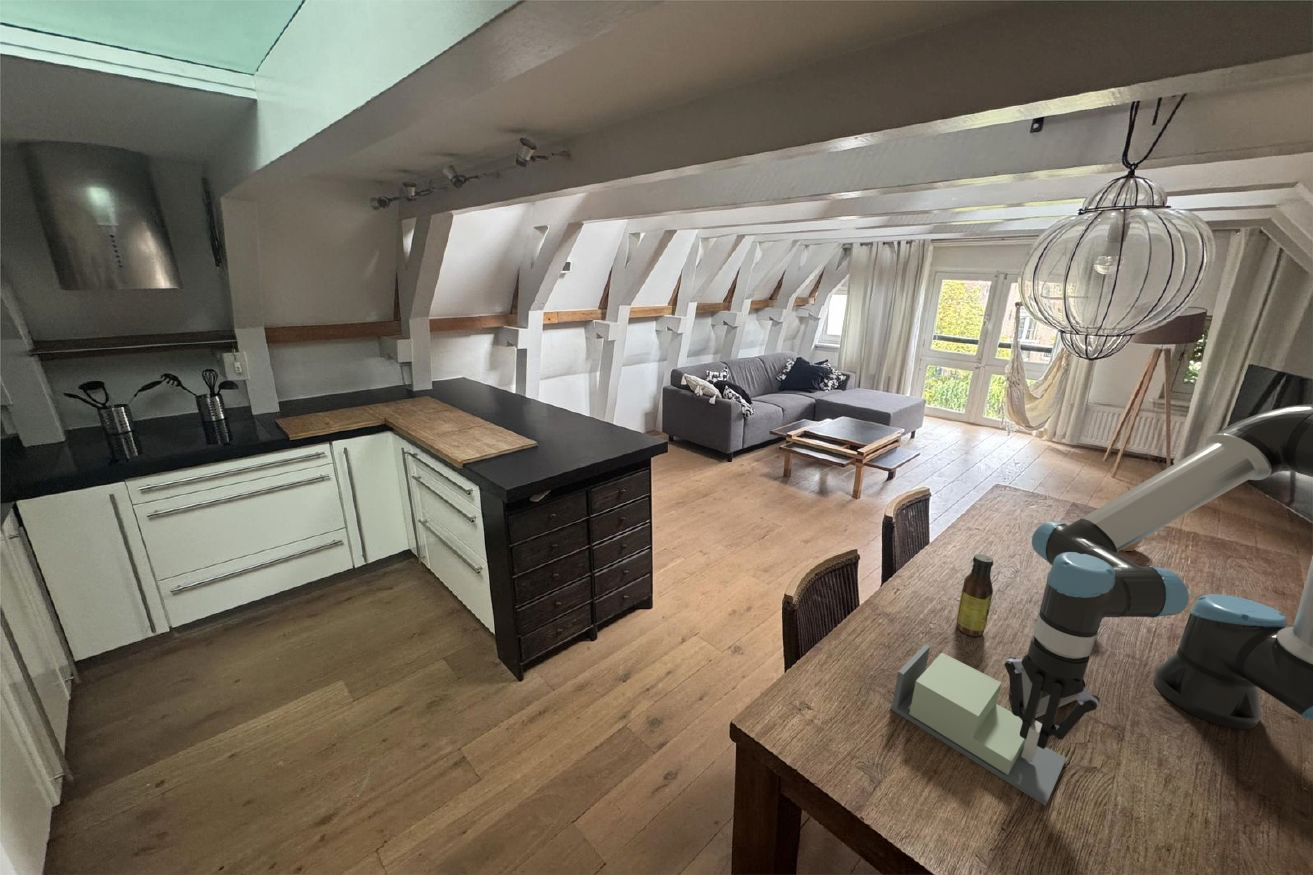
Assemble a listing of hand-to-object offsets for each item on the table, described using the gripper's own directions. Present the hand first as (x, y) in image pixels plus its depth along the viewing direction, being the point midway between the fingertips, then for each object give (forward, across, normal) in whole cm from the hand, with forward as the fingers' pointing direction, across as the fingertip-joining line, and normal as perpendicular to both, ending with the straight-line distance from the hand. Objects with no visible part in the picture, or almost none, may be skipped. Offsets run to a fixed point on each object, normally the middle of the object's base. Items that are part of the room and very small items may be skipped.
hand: (1028, 755), depth 90 cm
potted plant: (+3, +4, -118) cm, 119 cm away
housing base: (+2, +9, 0) cm, 9 cm away
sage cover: (+1, +10, 0) cm, 10 cm away
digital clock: (+3, +2, -20) cm, 20 cm away
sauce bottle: (+3, +21, -33) cm, 39 cm away
